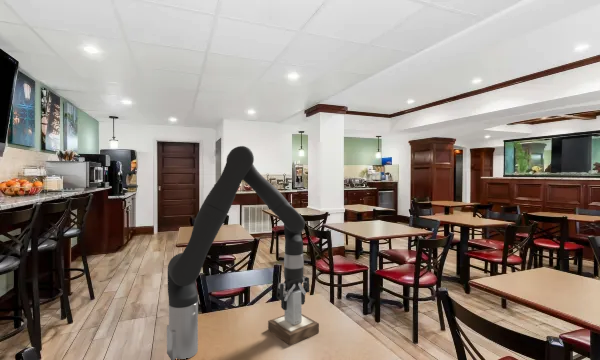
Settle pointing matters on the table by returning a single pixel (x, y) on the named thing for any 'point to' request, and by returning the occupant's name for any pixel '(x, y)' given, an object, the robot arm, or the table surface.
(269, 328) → the walnut stand
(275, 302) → the table surface
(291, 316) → the skincare box
